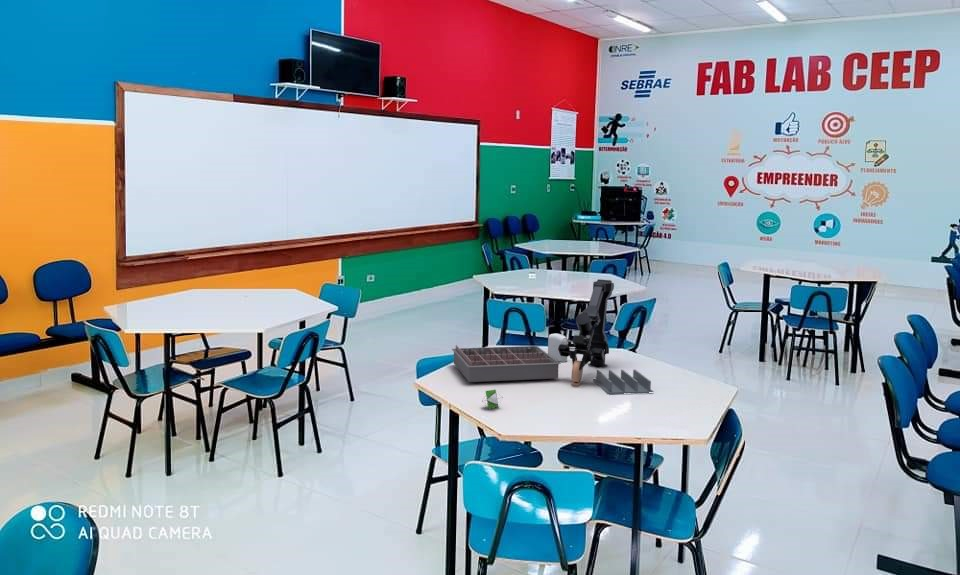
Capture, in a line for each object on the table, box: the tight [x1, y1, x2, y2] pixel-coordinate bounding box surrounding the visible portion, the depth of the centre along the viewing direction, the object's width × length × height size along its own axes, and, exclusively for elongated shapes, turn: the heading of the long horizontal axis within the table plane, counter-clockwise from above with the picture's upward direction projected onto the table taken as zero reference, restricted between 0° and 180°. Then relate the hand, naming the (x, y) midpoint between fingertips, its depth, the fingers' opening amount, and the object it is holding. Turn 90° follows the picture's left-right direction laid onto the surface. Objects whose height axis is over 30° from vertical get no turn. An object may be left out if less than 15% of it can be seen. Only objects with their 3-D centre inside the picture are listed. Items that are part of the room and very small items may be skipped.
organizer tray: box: [451, 344, 562, 383], centre depth 328 cm, size 32×40×10 cm
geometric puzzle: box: [483, 389, 504, 409], centre depth 280 cm, size 7×7×8 cm
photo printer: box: [547, 333, 569, 363], centre depth 353 cm, size 10×4×12 cm, turn 39°
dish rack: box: [592, 369, 654, 395], centre depth 311 cm, size 20×19×5 cm
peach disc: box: [570, 359, 584, 387], centre depth 313 cm, size 9×3×10 cm, turn 157°
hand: (576, 369), depth 312 cm, fingers closed on peach disc, 2 cm apart
